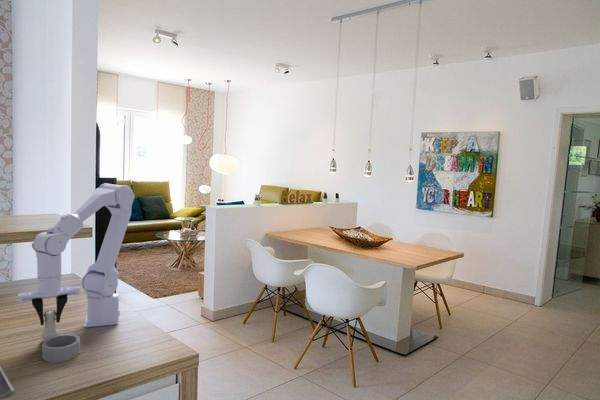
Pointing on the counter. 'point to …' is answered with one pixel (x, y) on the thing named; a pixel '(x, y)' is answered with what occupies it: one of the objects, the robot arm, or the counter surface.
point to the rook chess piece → (49, 325)
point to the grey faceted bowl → (61, 347)
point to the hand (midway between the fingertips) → (50, 322)
